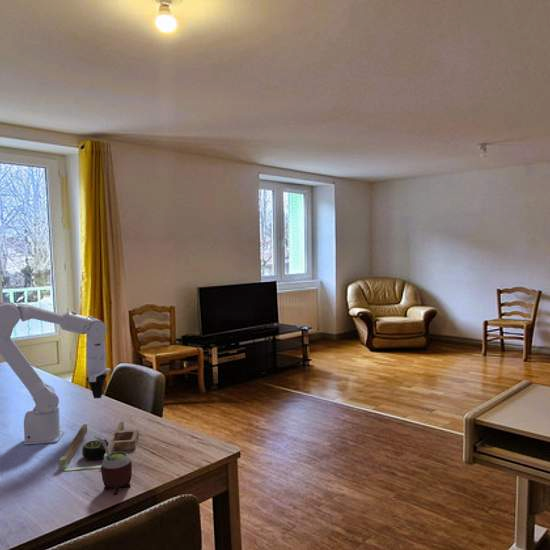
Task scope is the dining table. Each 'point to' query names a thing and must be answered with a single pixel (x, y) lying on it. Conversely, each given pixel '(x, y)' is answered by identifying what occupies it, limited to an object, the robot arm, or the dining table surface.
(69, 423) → the dining table surface
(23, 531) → the dining table surface
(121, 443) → the channel
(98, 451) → the tape measure
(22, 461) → the dining table surface
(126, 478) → the mate gourd
